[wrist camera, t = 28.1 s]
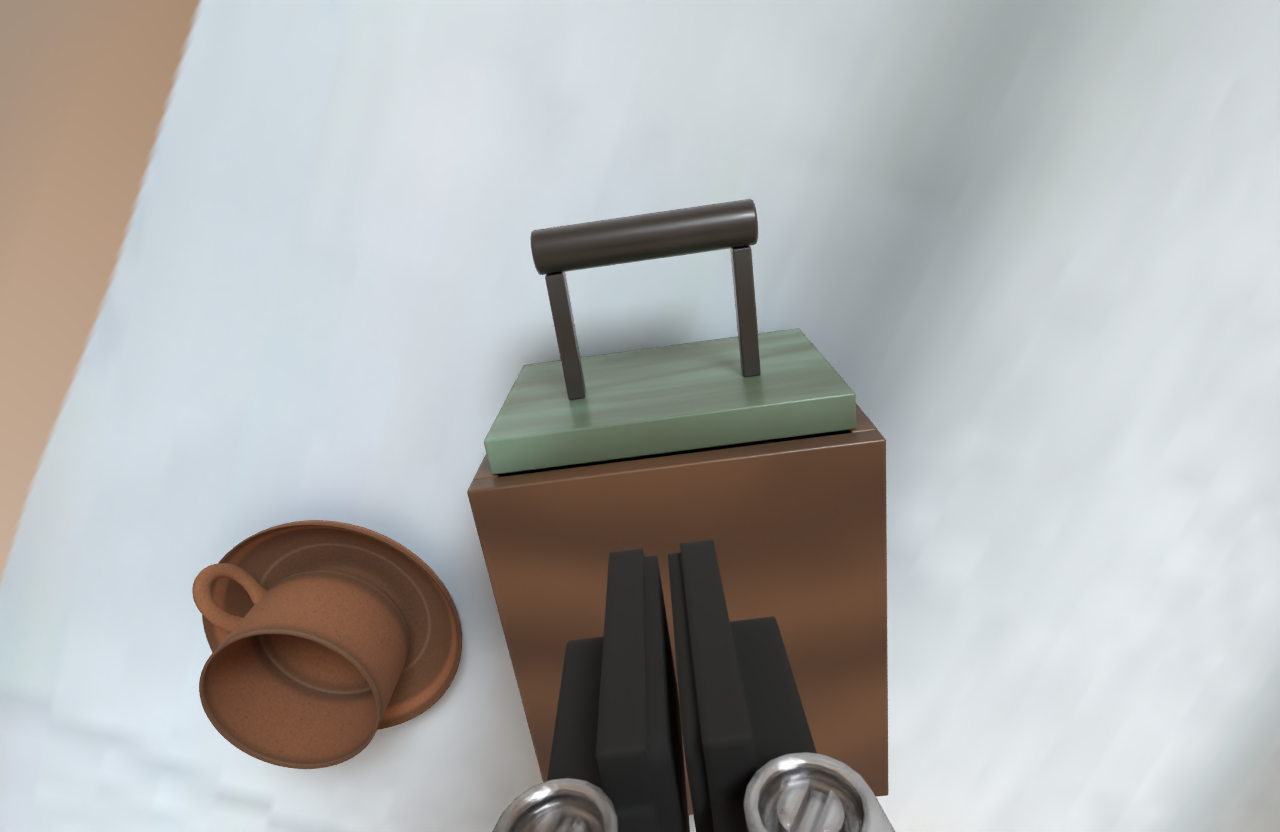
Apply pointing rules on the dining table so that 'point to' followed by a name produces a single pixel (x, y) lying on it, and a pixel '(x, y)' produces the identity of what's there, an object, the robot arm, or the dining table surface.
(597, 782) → the robot arm
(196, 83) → the dining table surface
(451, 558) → the dining table surface
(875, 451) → the cabinet
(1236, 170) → the dining table surface
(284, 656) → the cup and saucer
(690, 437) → the drawer
